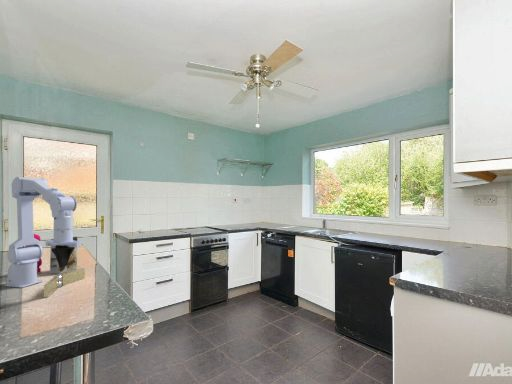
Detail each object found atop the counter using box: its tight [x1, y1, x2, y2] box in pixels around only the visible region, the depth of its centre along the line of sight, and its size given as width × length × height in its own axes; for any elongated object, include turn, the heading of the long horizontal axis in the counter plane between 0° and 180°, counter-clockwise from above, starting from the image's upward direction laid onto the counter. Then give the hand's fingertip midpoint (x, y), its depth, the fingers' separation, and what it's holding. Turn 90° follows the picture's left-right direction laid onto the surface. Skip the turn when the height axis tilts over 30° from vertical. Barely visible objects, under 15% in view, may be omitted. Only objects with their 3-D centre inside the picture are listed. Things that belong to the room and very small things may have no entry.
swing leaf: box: [43, 274, 62, 298], centre depth 98 cm, size 3×13×4 cm, turn 21°
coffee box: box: [49, 236, 78, 275], centre depth 126 cm, size 9×6×16 cm
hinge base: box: [57, 267, 86, 289], centre depth 108 cm, size 3×13×4 cm, turn 165°
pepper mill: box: [26, 231, 43, 274], centre depth 124 cm, size 7×7×20 cm
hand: (63, 266), depth 95 cm, fingers closed
